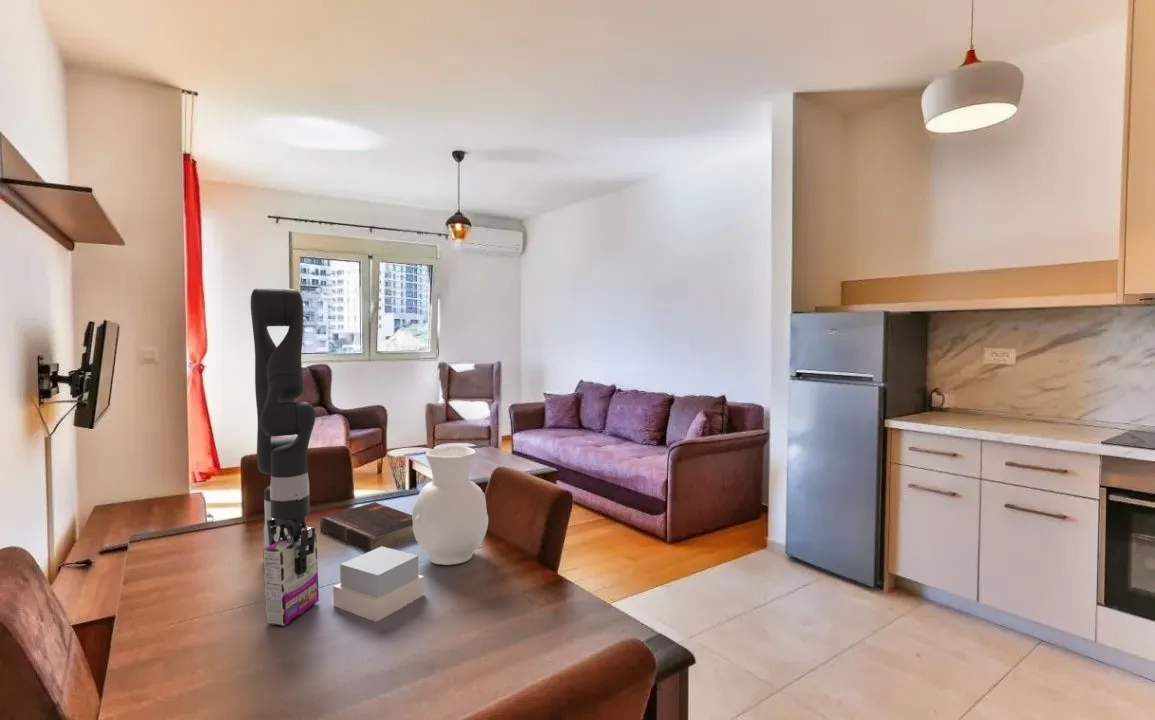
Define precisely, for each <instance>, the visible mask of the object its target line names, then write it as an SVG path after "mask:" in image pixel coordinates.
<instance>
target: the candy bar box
mask: <svg viewBox="0 0 1155 720" xmlns="http://www.w3.org/2000/svg"><path fill="white" fill-rule="evenodd" d="M317 540H318V539H317V532H316V531H315V542H314V553H312V554H309V555H307V557H306V558H307V563H306V564H307V565H306V566H307V569H306V572H305V573H302V574H300V575H297V574H295V558H296V557H295V554H294V548H293V547H292V545H290V544H289V542H288V541H287V540H280V541H278V542H276V543H274V544H272V545H270V546H268V547H266V548H264V547H263V549H262V556H263V557H262V558H263V576H264V577H263V580H264V598H265V601H264V603H265V623H266V624H267V625H268V624H269V625H274V626H281V627H283V626H284V627H285V626H287V625H288V624H290V623H291V622H293V621H294V620H295V619H297V618H298V617H299V616H300V615H302V614H303V613H305V612H306V611H307V610H308V609H309V608H311V607H312V606H314V605H315V604H317V603H319V601H320V600H319V599H320V598H319V596H320V595H319V574H318V573H319V571H318V547H317ZM300 541H301V539H300V540H297V541H294V542H295V543H297V542H300ZM307 548H308V549H309V545H308V546H307ZM298 549H299V551H300V546H298Z"/></svg>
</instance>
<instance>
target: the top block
mask: <svg viewBox="0 0 1155 720" xmlns="http://www.w3.org/2000/svg"><path fill="white" fill-rule="evenodd" d="M339 569H340V573H339V574H340V579H339V580H340V583H341V586H343V587H346V588H349V589H352V590H355V591H358V592H361V593H364V594H367V595H371V596H374V597H377V598H379V597H381V596H383V595H385V594H387V593H388V592H390V591H392V590H394V589H396V588H398V587H400V586H402V585H404V584H405V583H407V582H409V581H411V580H413V579H415V578H417V577H419V575H420V574H419V572H420V571H419V555H417V554H413V553H409V552H406V551H402V550H398V549H394V548H391V547H390V548H387V547H383V546H381V547H379V548H377V549H374V550H372V551H370V552H367V551H366V552H365V553H362V554H361V555H359V556H356V557H353V558H351V559H349V560H347V561H344V562H342V563H340V564H339Z"/></svg>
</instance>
